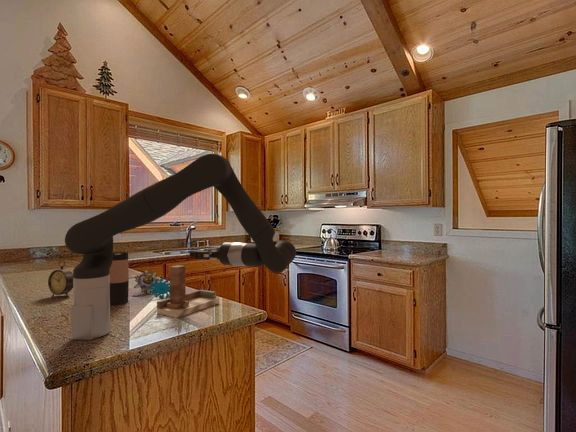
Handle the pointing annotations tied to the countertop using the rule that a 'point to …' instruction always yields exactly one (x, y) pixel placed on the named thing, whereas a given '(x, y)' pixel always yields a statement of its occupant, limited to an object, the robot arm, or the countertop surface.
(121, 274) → the travel mug
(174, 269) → the panel
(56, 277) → the alarm clock
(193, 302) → the board
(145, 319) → the countertop surface
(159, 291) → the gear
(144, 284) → the passion flower
